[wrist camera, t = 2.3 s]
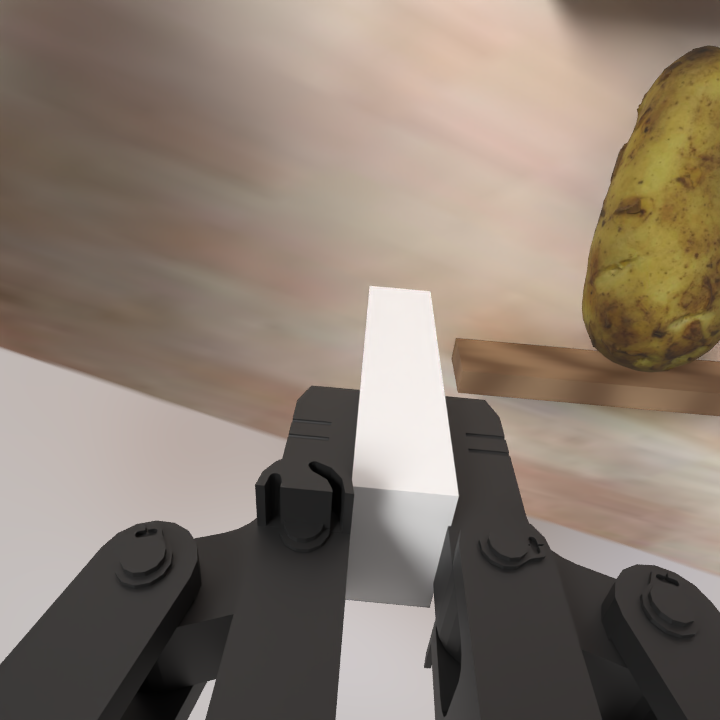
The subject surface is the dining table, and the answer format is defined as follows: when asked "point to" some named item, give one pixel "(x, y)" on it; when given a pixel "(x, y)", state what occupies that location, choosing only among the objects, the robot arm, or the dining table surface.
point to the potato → (662, 227)
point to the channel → (582, 378)
